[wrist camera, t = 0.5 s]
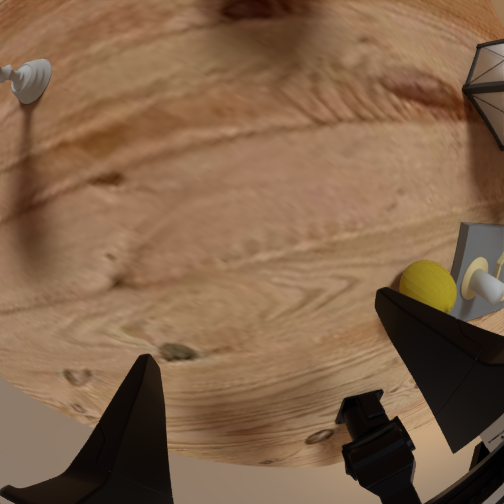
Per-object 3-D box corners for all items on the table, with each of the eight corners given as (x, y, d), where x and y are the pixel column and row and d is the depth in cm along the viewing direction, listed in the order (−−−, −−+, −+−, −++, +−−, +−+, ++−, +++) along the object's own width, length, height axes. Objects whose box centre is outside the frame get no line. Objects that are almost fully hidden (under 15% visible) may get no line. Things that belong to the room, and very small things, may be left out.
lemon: (426, 282, 27) (468, 315, 20) (390, 303, 28) (428, 344, 20) (422, 241, 25) (471, 270, 18) (382, 262, 26) (428, 299, 18)
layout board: (503, 302, 31) (525, 319, 25) (435, 322, 30) (462, 349, 24) (523, 226, 27) (549, 238, 21) (461, 222, 25) (499, 238, 19)
